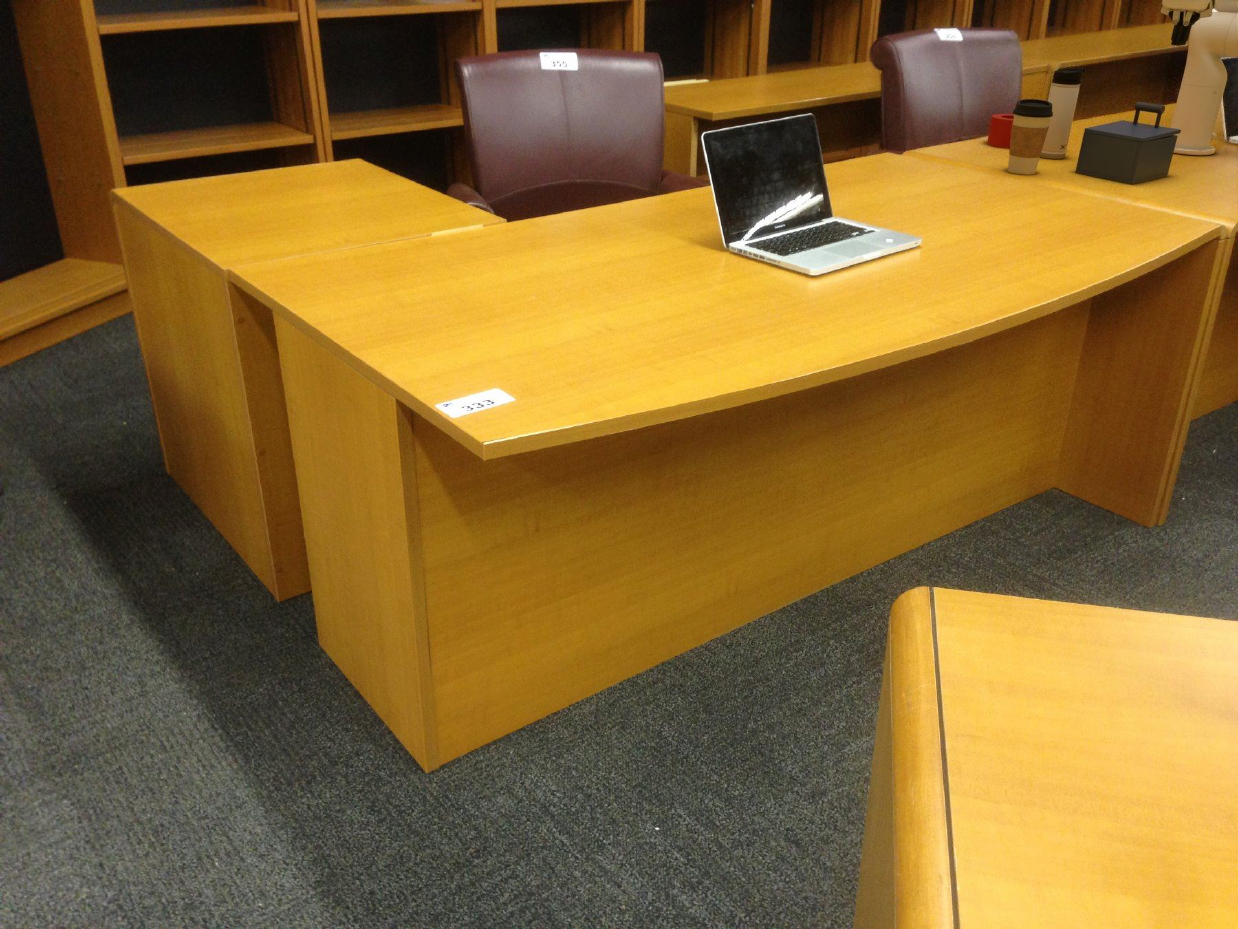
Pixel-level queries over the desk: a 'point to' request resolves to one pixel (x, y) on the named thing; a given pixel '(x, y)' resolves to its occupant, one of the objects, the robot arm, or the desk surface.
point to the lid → (1136, 126)
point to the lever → (1000, 130)
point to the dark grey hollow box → (1125, 158)
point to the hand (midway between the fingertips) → (1178, 44)
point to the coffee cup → (1028, 135)
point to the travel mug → (1061, 111)
